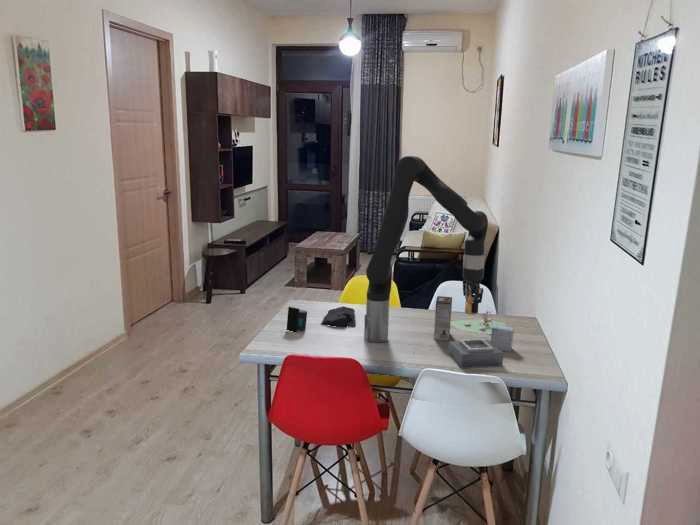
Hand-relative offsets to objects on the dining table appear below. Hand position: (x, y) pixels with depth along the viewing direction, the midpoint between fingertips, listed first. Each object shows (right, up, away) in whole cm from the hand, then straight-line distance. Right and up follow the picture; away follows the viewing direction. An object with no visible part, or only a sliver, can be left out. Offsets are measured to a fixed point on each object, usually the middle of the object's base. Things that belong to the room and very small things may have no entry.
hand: (471, 310), depth 208 cm
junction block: (+2, -19, +2) cm, 19 cm away
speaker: (-67, -11, +28) cm, 74 cm away
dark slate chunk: (-50, -8, +44) cm, 67 cm away
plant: (+11, -11, +39) cm, 42 cm away
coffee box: (-7, -13, +26) cm, 30 cm away
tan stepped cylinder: (0, -1, 0) cm, 1 cm away
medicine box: (+15, -17, +14) cm, 26 cm away
